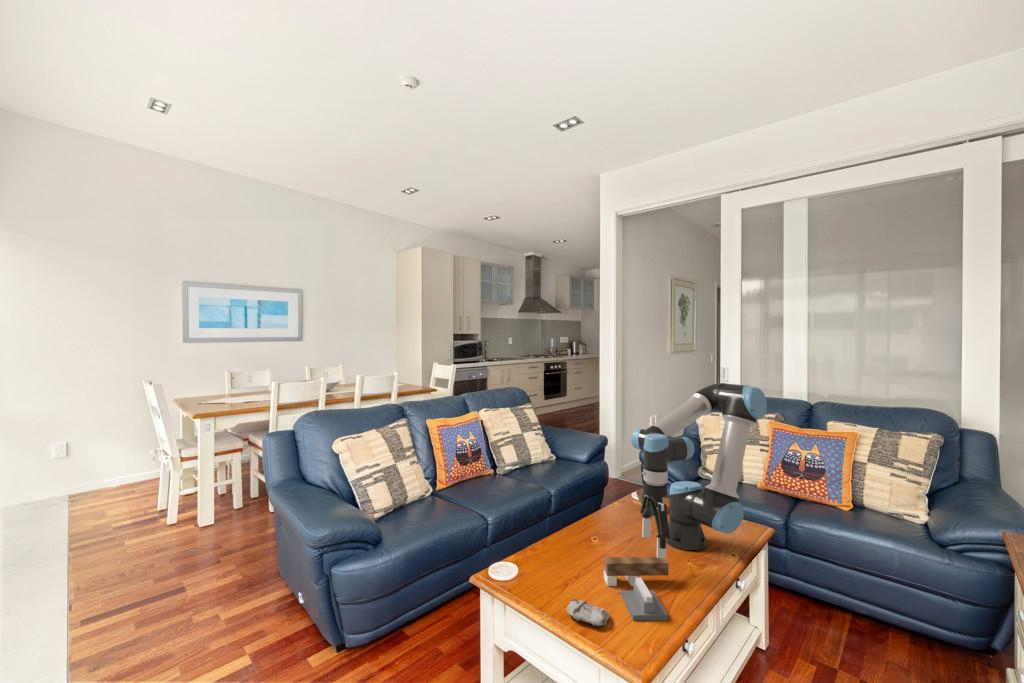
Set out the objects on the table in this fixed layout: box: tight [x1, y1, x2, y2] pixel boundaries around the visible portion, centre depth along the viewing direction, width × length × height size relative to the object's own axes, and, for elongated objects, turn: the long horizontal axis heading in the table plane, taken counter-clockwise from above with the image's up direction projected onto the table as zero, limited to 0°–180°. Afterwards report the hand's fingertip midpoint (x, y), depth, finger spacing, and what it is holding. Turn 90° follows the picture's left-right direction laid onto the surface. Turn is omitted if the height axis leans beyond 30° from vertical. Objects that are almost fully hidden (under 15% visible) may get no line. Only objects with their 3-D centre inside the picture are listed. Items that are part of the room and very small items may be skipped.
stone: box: [565, 598, 610, 627], centre depth 125 cm, size 12×9×3 cm
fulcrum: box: [620, 577, 669, 621], centre depth 130 cm, size 10×12×6 cm
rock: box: [635, 488, 664, 505], centre depth 202 cm, size 12×12×10 cm
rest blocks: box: [603, 569, 641, 587], centre depth 143 cm, size 10×5×3 cm, turn 92°
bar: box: [603, 556, 670, 577], centre depth 143 cm, size 20×4×4 cm, turn 92°
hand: (653, 546), depth 143 cm, fingers open, 13 cm apart
